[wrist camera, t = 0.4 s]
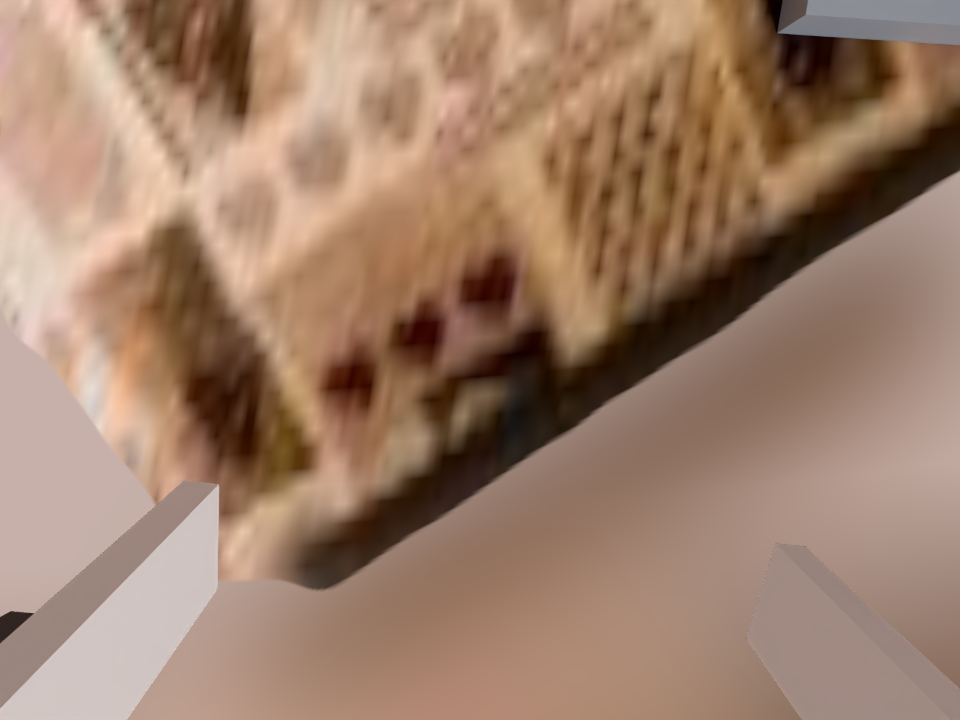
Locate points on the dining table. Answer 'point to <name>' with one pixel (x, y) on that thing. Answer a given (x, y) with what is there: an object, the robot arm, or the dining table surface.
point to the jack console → (874, 19)
